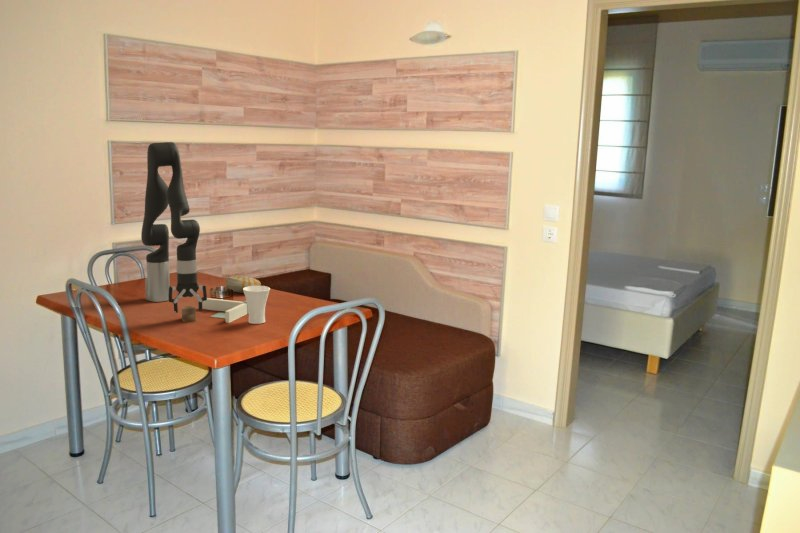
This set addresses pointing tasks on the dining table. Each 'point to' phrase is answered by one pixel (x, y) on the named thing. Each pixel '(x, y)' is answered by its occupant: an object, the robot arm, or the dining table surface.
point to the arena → (226, 308)
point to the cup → (256, 302)
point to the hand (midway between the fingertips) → (188, 311)
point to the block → (188, 313)
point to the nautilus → (241, 283)
